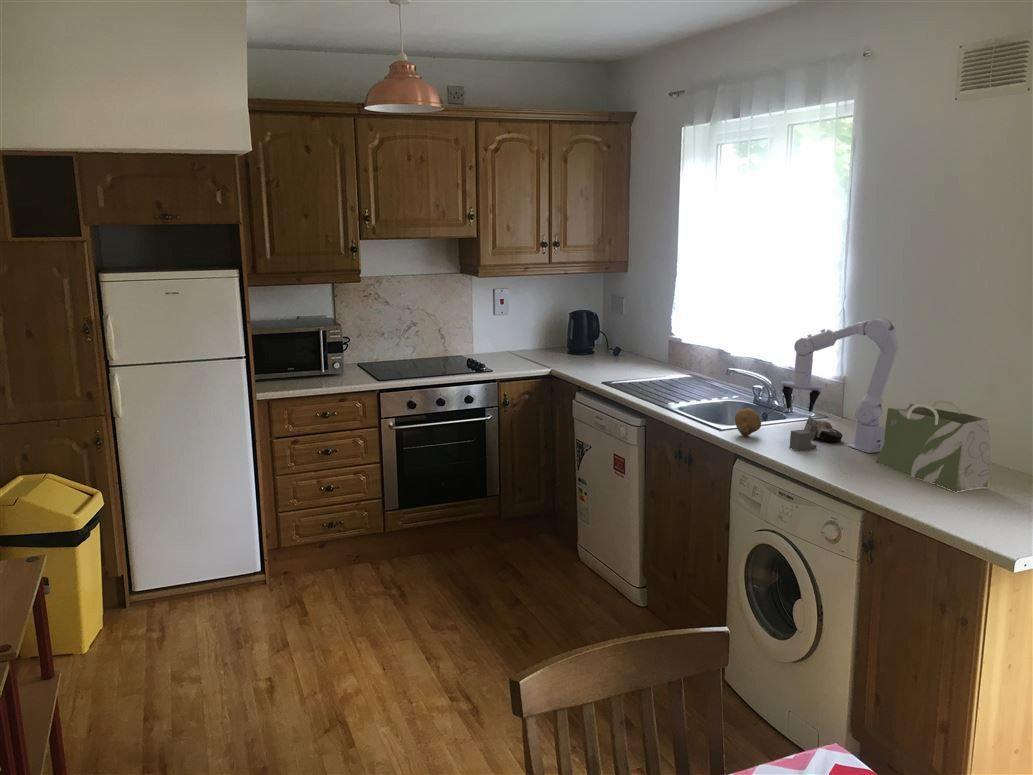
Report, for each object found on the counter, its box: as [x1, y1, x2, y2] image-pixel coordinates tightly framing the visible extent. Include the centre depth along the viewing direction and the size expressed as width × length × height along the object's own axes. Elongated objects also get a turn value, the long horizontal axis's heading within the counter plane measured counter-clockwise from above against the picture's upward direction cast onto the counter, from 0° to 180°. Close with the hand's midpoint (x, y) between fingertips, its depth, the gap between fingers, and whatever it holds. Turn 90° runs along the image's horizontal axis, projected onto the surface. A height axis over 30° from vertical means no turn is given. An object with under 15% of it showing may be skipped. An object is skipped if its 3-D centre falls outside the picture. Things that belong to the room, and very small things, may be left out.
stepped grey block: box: [789, 429, 817, 452], centre depth 291 cm, size 4×8×6 cm, turn 114°
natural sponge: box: [734, 407, 762, 437], centre depth 306 cm, size 9×9×10 cm
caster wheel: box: [803, 415, 844, 444], centre depth 304 cm, size 7×11×10 cm
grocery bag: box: [875, 398, 991, 492], centre depth 263 cm, size 32×14×23 cm, turn 21°
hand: (799, 409), depth 306 cm, fingers open, 7 cm apart
